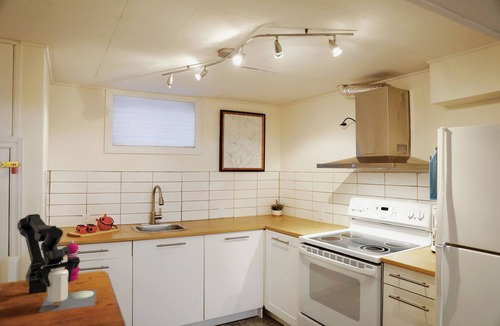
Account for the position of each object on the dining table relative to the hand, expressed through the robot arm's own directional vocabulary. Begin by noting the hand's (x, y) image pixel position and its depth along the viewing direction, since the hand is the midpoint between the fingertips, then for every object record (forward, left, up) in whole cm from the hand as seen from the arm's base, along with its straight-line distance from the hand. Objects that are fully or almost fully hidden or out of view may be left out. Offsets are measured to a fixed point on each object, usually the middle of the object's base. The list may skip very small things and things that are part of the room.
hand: (59, 284), depth 139 cm
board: (+3, +7, -10) cm, 13 cm away
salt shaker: (-1, +1, -6) cm, 6 cm away
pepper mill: (0, +42, -10) cm, 43 cm away
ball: (-1, +1, -8) cm, 8 cm away
